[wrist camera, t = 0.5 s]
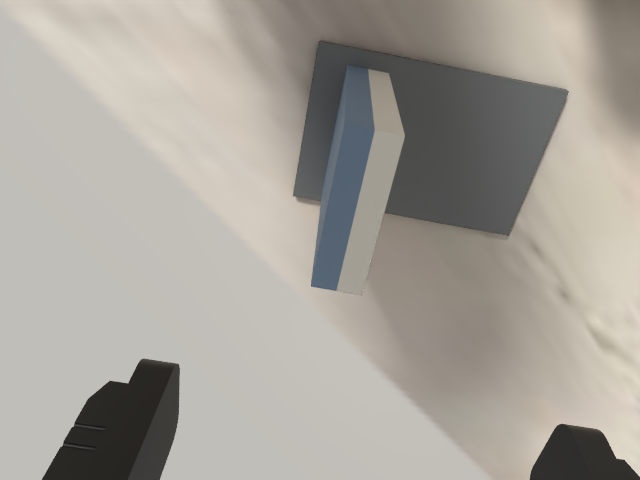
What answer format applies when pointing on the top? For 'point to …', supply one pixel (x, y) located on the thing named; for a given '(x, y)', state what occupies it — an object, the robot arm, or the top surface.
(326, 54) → the mat
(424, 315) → the top surface
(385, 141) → the card deck
